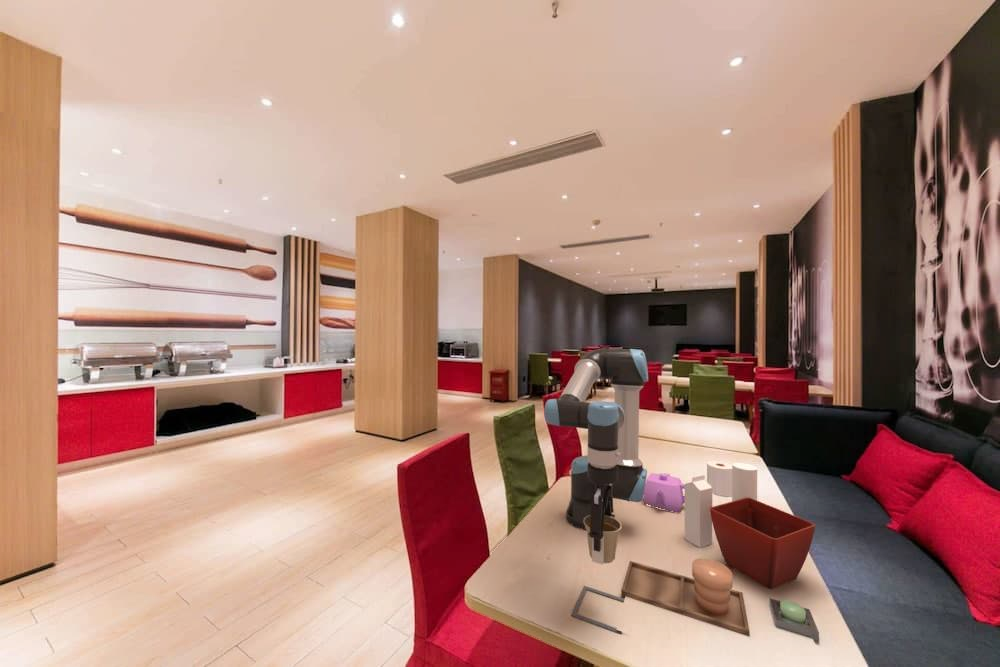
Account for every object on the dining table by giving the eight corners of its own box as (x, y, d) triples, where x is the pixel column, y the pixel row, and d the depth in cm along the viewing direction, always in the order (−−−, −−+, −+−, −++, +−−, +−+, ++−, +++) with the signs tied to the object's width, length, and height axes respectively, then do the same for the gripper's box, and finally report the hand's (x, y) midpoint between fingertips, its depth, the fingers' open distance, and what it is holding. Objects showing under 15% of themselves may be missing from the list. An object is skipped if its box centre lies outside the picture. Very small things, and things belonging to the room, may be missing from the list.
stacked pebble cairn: (691, 609, 92) (691, 573, 93) (692, 588, 100) (692, 554, 100) (734, 623, 88) (734, 585, 88) (730, 599, 96) (731, 564, 96)
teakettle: (695, 511, 146) (696, 480, 146) (658, 516, 142) (658, 484, 142) (666, 493, 163) (667, 465, 163) (632, 497, 159) (633, 468, 159)
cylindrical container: (761, 546, 122) (761, 471, 122) (737, 543, 123) (737, 469, 124) (751, 535, 129) (751, 463, 129) (728, 532, 130) (728, 462, 131)
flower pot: (600, 572, 87) (601, 535, 88) (575, 551, 96) (575, 518, 96) (629, 562, 92) (629, 527, 92) (602, 543, 100) (603, 511, 100)
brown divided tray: (621, 597, 98) (621, 590, 98) (629, 566, 111) (629, 560, 111) (749, 639, 84) (749, 631, 84) (742, 599, 97) (742, 592, 97)
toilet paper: (710, 495, 161) (710, 467, 161) (704, 485, 171) (704, 459, 171) (736, 498, 158) (737, 470, 158) (729, 488, 168) (729, 462, 168)
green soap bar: (782, 624, 88) (782, 610, 88) (778, 610, 92) (778, 597, 92) (808, 631, 86) (808, 617, 86) (802, 617, 90) (802, 604, 90)
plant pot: (774, 603, 96) (775, 538, 96) (707, 562, 113) (708, 507, 114) (816, 584, 104) (817, 524, 104) (747, 548, 121) (748, 496, 121)
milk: (712, 544, 123) (713, 478, 123) (699, 548, 121) (700, 481, 121) (696, 534, 129) (697, 471, 129) (683, 538, 126) (684, 474, 126)
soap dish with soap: (775, 629, 87) (775, 619, 87) (769, 607, 94) (769, 598, 94) (818, 643, 84) (819, 632, 84) (809, 619, 91) (809, 609, 91)
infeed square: (571, 615, 91) (571, 614, 91) (584, 586, 102) (584, 585, 102) (621, 634, 86) (621, 633, 86) (629, 601, 96) (629, 600, 96)
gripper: (608, 481, 83) (608, 581, 83) (625, 454, 102) (624, 536, 102) (576, 474, 86) (575, 571, 86) (597, 449, 105) (597, 529, 105)
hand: (602, 552), depth 94 cm, fingers closed on flower pot, 8 cm apart
